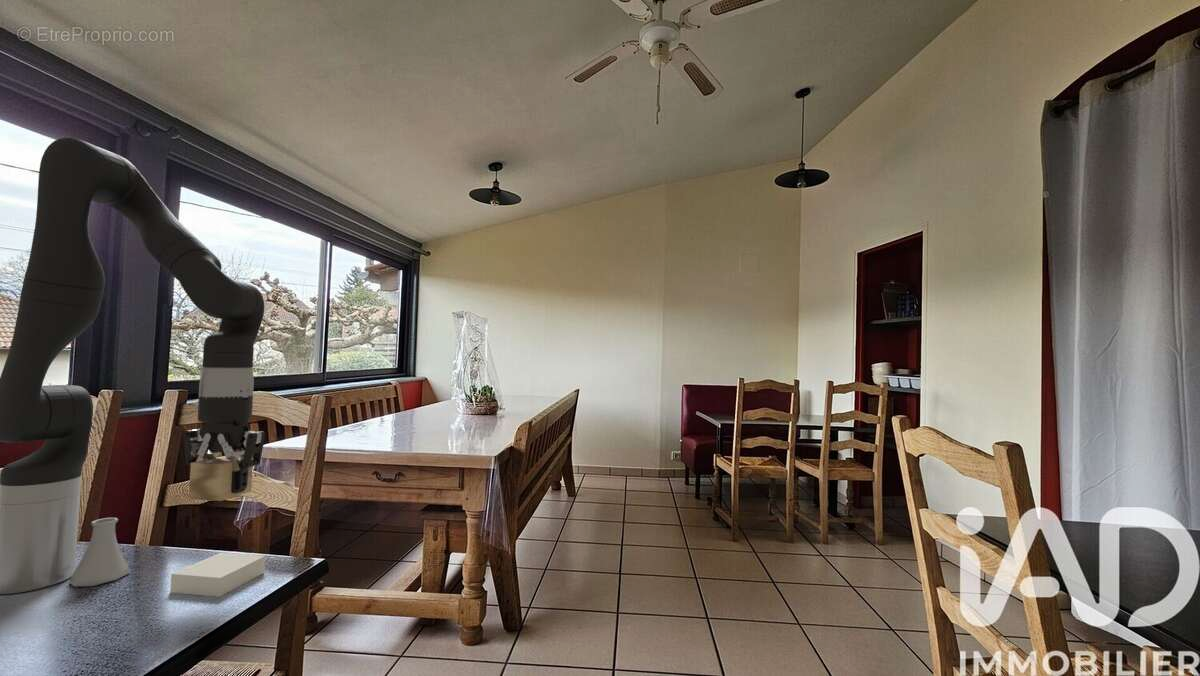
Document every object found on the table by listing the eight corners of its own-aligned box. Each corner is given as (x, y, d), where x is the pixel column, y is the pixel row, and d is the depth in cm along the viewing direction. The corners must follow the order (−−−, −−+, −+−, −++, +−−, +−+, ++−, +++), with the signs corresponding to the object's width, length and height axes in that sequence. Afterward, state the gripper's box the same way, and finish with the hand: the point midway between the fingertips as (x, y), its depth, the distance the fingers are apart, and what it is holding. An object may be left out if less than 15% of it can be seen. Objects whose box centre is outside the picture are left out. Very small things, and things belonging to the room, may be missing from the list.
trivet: (170, 592, 79) (171, 573, 79) (219, 569, 88) (220, 552, 88) (219, 596, 78) (220, 577, 78) (264, 573, 87) (265, 556, 87)
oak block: (188, 499, 81) (190, 462, 81) (221, 489, 87) (223, 456, 87) (220, 501, 80) (222, 464, 80) (251, 491, 86) (252, 457, 86)
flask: (90, 590, 79) (95, 529, 80) (57, 585, 81) (62, 524, 81) (140, 572, 87) (144, 515, 87) (109, 568, 88) (113, 512, 89)
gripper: (169, 394, 81) (163, 495, 81) (244, 396, 79) (239, 499, 79) (210, 391, 89) (205, 483, 88) (280, 393, 87) (276, 487, 86)
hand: (221, 490), depth 83 cm, fingers closed on oak block, 6 cm apart
